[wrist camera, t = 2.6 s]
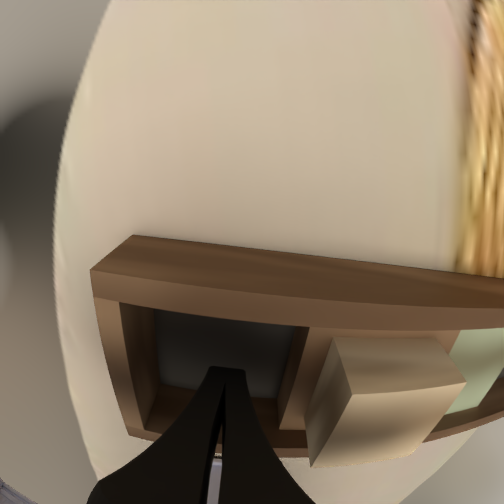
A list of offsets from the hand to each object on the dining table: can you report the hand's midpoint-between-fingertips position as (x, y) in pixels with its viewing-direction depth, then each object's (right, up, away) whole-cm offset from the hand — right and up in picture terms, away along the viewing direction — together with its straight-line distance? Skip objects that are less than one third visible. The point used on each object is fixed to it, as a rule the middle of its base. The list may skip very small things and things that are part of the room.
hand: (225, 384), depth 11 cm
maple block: (+6, -1, +1) cm, 6 cm away
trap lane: (+10, 0, +3) cm, 10 cm away
